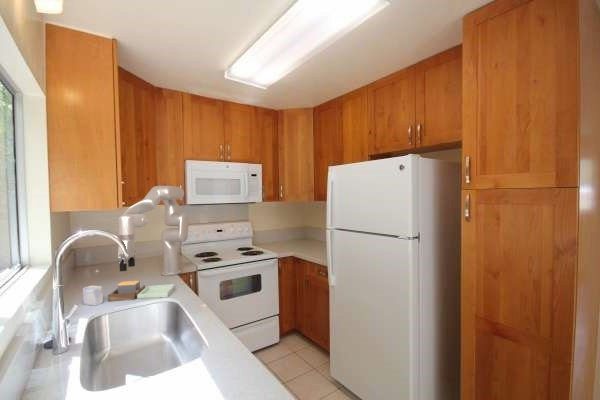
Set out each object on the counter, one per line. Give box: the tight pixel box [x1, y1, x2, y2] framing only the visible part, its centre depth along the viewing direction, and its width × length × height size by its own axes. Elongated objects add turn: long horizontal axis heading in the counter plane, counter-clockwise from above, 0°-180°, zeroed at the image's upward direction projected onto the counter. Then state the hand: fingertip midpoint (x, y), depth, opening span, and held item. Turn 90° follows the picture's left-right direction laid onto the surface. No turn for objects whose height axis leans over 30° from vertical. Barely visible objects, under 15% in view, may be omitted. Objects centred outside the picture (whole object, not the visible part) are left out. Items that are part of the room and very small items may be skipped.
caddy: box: [117, 280, 141, 294], centre depth 151 cm, size 5×9×7 cm, turn 99°
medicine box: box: [82, 285, 104, 307], centre depth 139 cm, size 8×4×9 cm, turn 74°
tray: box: [136, 283, 176, 300], centre depth 152 cm, size 14×15×2 cm
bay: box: [107, 284, 146, 302], centre depth 149 cm, size 12×13×4 cm
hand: (127, 268), depth 150 cm, fingers open, 9 cm apart
